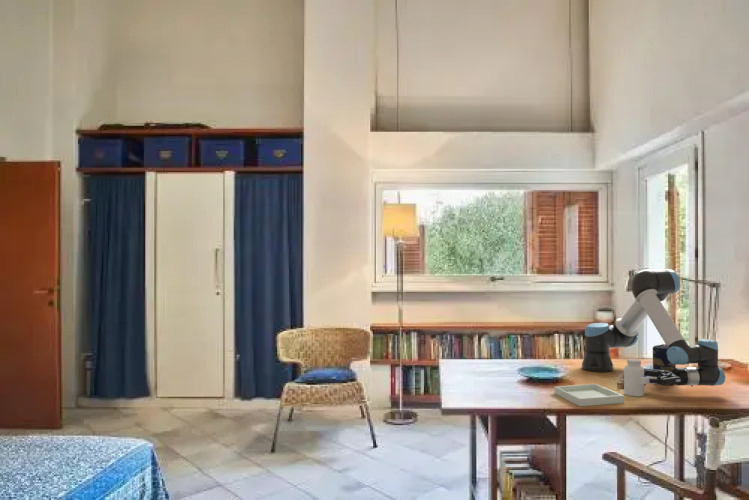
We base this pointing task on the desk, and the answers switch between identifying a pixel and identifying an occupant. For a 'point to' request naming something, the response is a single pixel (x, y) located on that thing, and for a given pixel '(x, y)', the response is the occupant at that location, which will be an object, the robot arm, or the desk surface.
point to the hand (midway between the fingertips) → (633, 376)
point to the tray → (588, 394)
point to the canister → (661, 358)
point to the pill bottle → (633, 378)
